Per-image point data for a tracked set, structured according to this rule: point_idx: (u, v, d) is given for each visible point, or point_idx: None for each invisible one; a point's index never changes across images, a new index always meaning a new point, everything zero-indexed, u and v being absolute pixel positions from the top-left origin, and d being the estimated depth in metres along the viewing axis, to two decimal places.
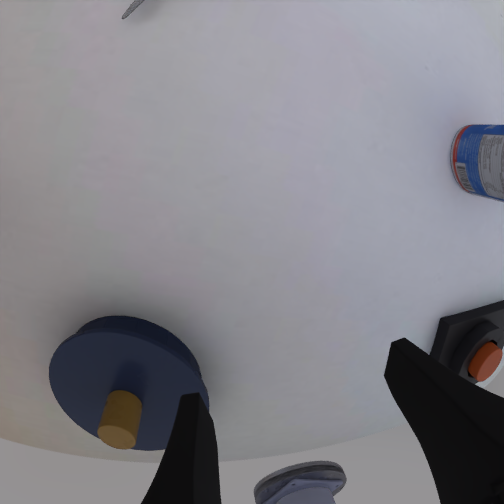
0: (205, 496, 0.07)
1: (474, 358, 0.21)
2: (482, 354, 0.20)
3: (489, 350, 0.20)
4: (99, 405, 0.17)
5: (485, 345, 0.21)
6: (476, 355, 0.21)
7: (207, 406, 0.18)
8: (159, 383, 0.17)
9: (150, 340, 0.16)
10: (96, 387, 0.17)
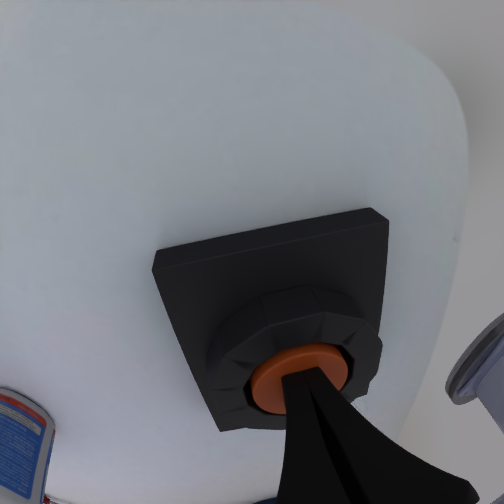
0: None
1: None
2: None
3: None
4: None
5: None
6: None
7: None
8: None
9: None
10: None
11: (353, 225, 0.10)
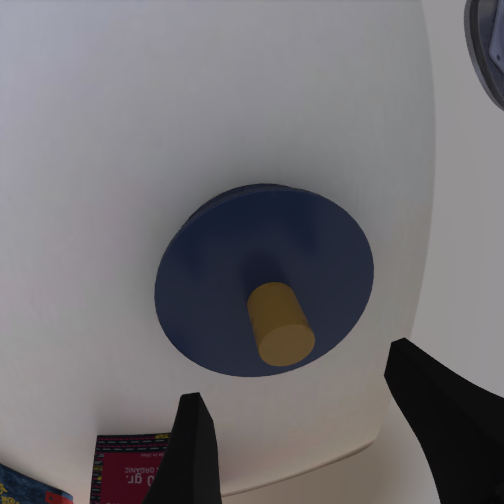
0: (205, 496, 0.07)
1: None
2: None
3: None
4: None
5: None
6: None
7: (268, 192, 0.13)
8: (225, 260, 0.14)
9: None
10: (249, 332, 0.16)
11: None
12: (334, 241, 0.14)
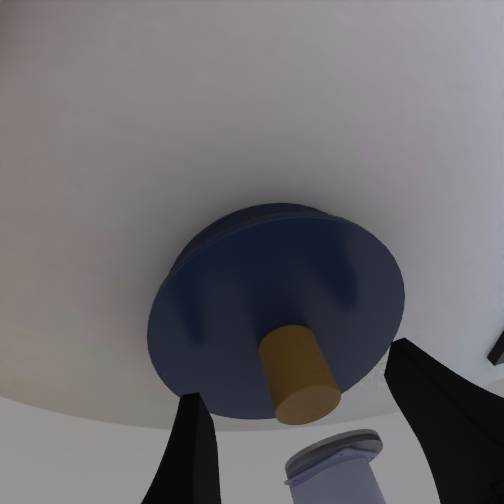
0: (205, 496, 0.07)
1: None
2: None
3: None
4: (236, 351, 0.12)
5: None
6: None
7: (386, 350, 0.14)
8: (358, 314, 0.12)
9: (385, 246, 0.11)
10: (254, 319, 0.11)
11: None
12: None
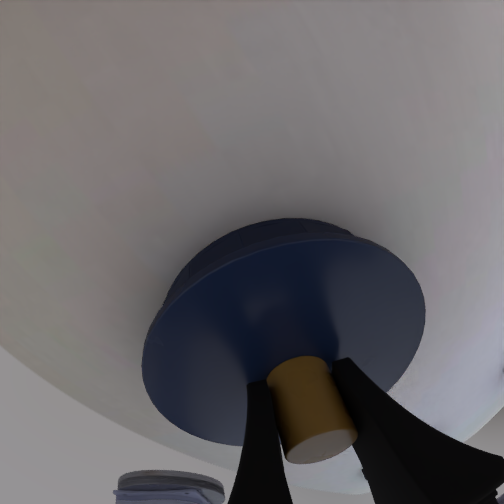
0: None
1: None
2: None
3: None
4: (255, 358, 0.10)
5: None
6: None
7: None
8: None
9: (421, 333, 0.11)
10: (302, 336, 0.10)
11: None
12: None
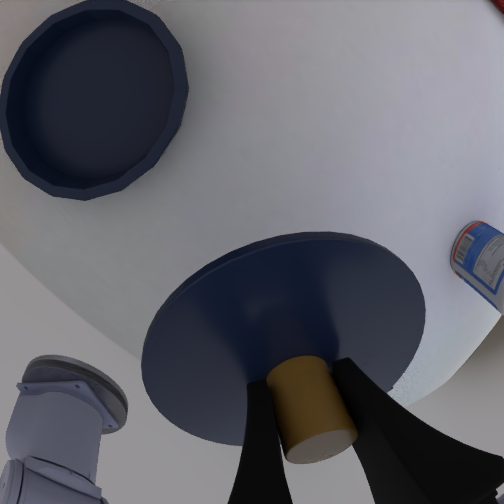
0: None
1: None
2: None
3: None
4: (255, 358, 0.10)
5: None
6: None
7: None
8: None
9: (421, 332, 0.11)
10: (302, 335, 0.10)
11: None
12: None
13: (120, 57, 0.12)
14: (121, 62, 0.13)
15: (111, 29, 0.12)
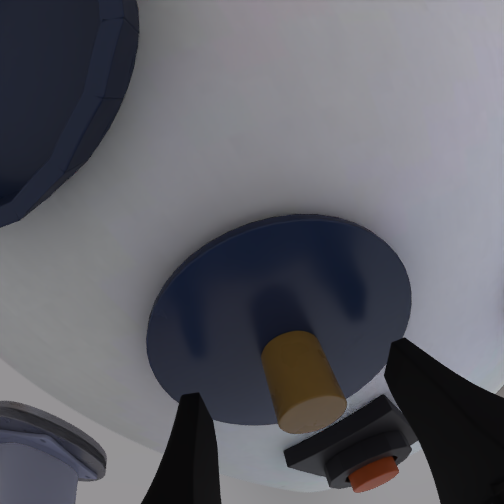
0: (205, 496, 0.07)
1: (372, 463, 0.16)
2: (384, 465, 0.16)
3: (392, 466, 0.16)
4: (251, 332, 0.11)
5: (389, 457, 0.17)
6: (376, 462, 0.16)
7: None
8: (354, 357, 0.13)
9: (408, 314, 0.12)
10: (294, 311, 0.11)
11: None
12: (264, 411, 0.14)
13: (37, 0, 0.05)
14: (37, 7, 0.05)
15: None
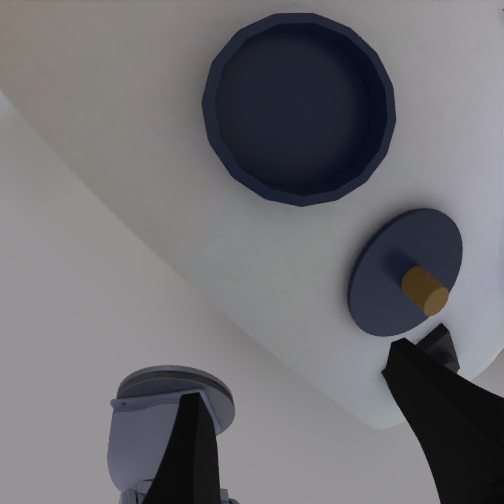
0: (205, 496, 0.07)
1: None
2: None
3: None
4: (401, 266, 0.21)
5: None
6: None
7: (425, 319, 0.24)
8: None
9: (460, 262, 0.22)
10: (419, 254, 0.21)
11: None
12: (391, 323, 0.23)
13: (325, 76, 0.15)
14: (325, 80, 0.15)
15: (316, 46, 0.14)
